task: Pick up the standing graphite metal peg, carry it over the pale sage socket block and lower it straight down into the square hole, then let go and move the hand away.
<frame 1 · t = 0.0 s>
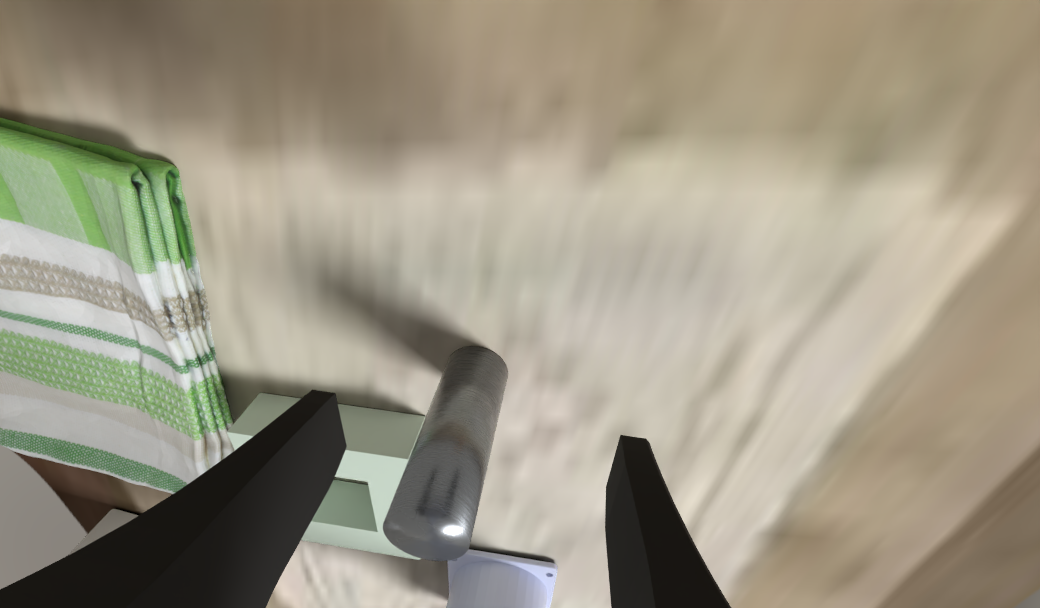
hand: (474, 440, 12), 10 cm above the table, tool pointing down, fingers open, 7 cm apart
dish towel: (89, 314, 27), on the table
socket: (353, 459, 30), on the table
peg: (477, 370, 24), on the table
milk carton: (165, 537, 40), on the table
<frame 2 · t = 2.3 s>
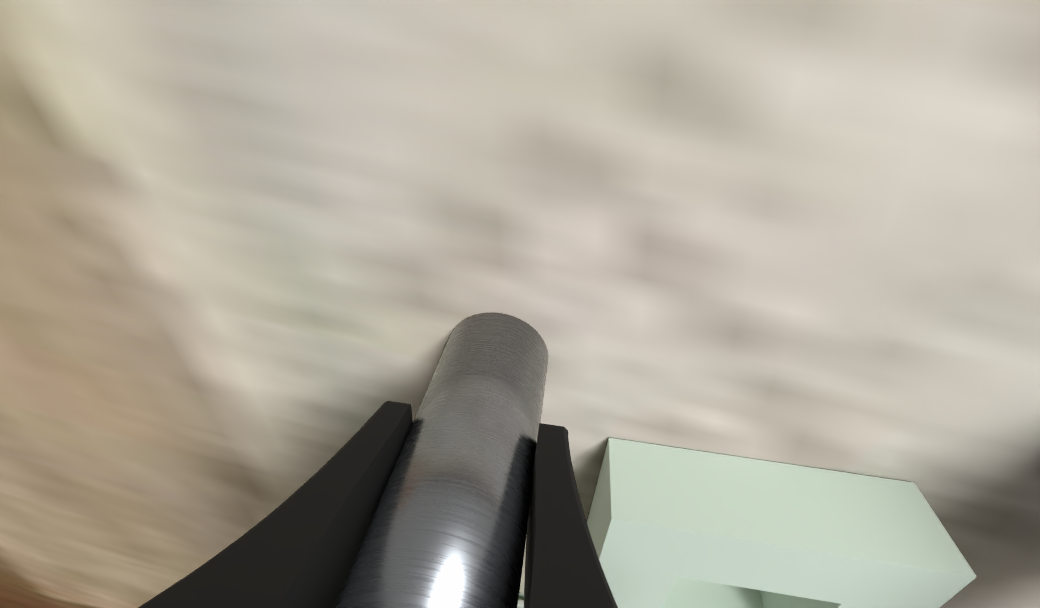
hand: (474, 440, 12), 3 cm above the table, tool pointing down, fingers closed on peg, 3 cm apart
socket: (713, 540, 18), on the table
peg: (497, 354, 15), on the table, touching gripper
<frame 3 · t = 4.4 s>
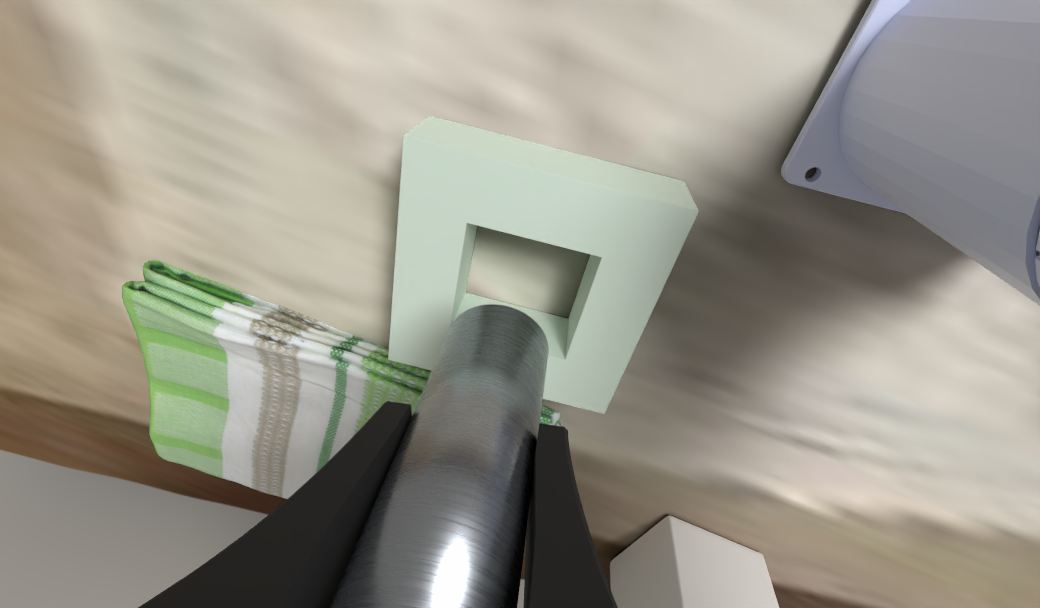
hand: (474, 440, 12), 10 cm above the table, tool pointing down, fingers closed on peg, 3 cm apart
dish towel: (350, 423, 30), on the table
socket: (528, 260, 21), on the table
peg: (497, 346, 15), point 7 cm above the table, touching gripper
milk carton: (681, 552, 32), on the table
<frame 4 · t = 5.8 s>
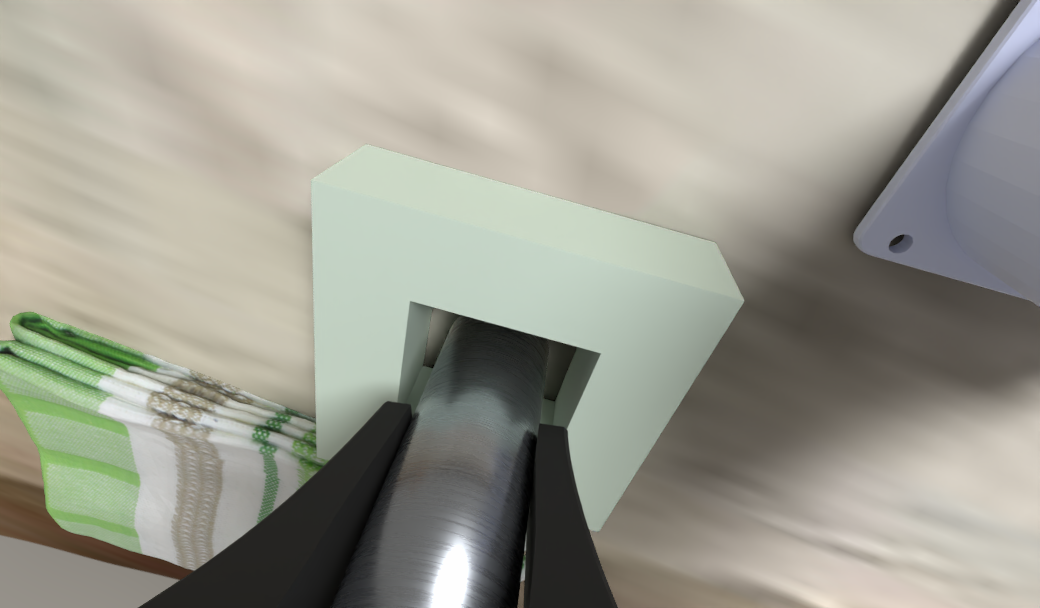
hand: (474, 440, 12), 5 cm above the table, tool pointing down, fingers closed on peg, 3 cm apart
dish towel: (293, 497, 25), on the table
socket: (503, 331, 16), on the table
peg: (497, 347, 15), point 1 cm above the table, touching gripper
when the fingers open (4 cm above the table, at t = 6.9 s): peg stays where it is, resting in socket.
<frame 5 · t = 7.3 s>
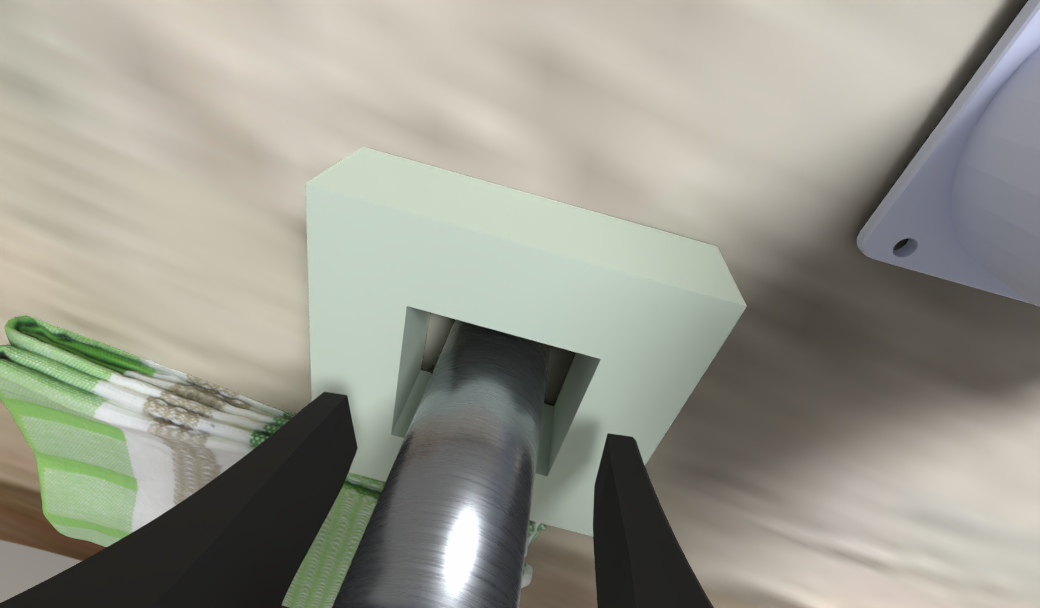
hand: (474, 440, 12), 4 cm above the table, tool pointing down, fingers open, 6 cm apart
dish towel: (291, 501, 24), on the table
socket: (502, 335, 15), on the table
peg: (503, 330, 15), resting in socket
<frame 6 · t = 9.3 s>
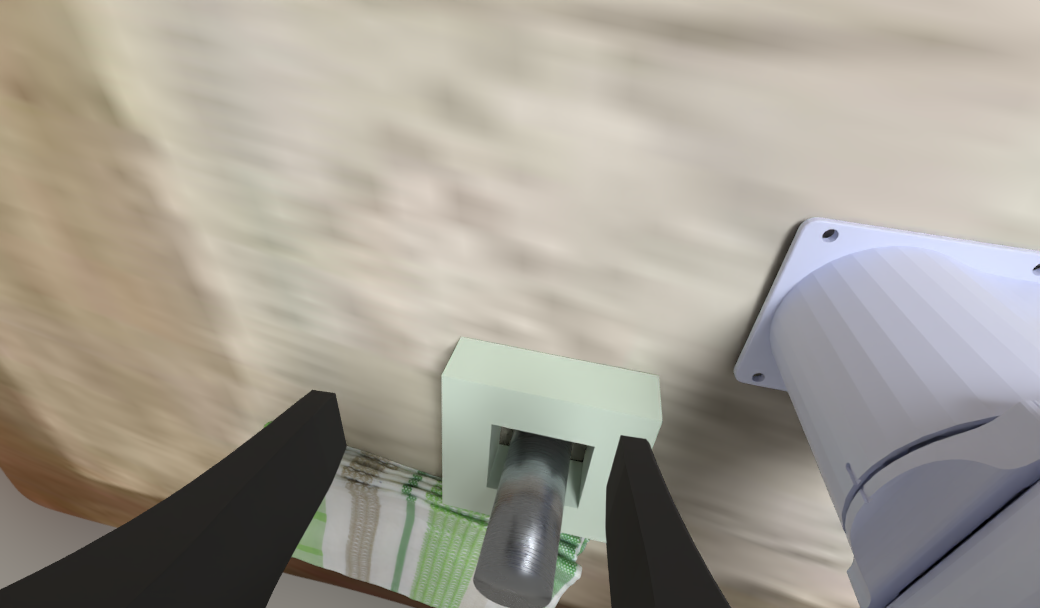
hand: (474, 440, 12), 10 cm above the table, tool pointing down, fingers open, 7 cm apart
dish towel: (419, 526, 36), on the table
socket: (545, 424, 26), on the table
peg: (545, 421, 26), resting in socket
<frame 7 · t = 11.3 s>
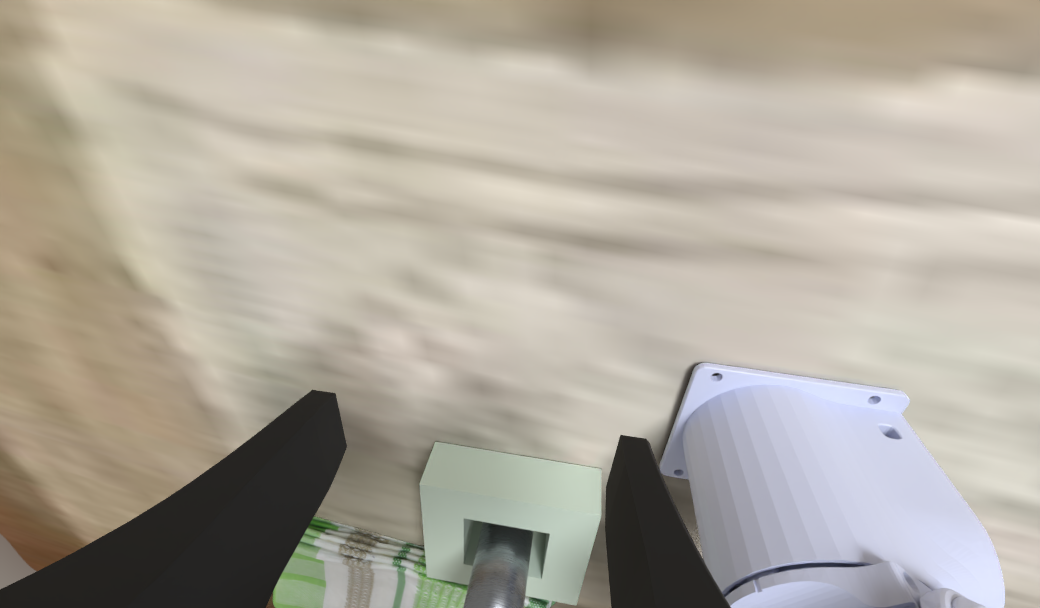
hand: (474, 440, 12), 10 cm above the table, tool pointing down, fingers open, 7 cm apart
dish towel: (410, 584, 40), on the table
socket: (512, 505, 30), on the table
peg: (512, 502, 30), resting in socket
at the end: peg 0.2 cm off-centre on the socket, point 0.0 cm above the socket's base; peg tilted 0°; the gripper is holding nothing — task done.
